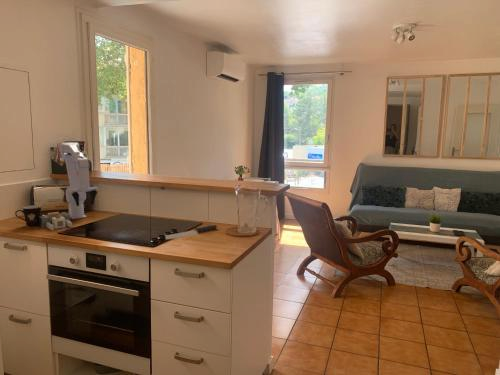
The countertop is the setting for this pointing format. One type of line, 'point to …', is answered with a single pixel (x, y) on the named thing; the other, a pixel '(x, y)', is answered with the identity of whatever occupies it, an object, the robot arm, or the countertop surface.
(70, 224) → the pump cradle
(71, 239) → the countertop surface
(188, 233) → the kitchen knife
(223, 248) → the countertop surface
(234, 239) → the countertop surface
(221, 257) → the countertop surface
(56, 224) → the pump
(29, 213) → the coffee mug
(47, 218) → the block
